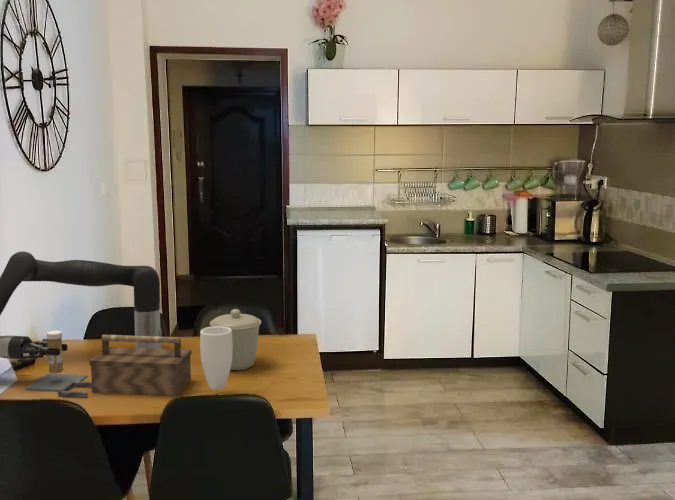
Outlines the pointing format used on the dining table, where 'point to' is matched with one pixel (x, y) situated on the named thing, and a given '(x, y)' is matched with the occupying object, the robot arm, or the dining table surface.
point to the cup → (216, 355)
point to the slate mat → (55, 382)
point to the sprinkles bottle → (56, 342)
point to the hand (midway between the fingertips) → (63, 349)
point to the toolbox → (136, 368)
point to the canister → (241, 337)
